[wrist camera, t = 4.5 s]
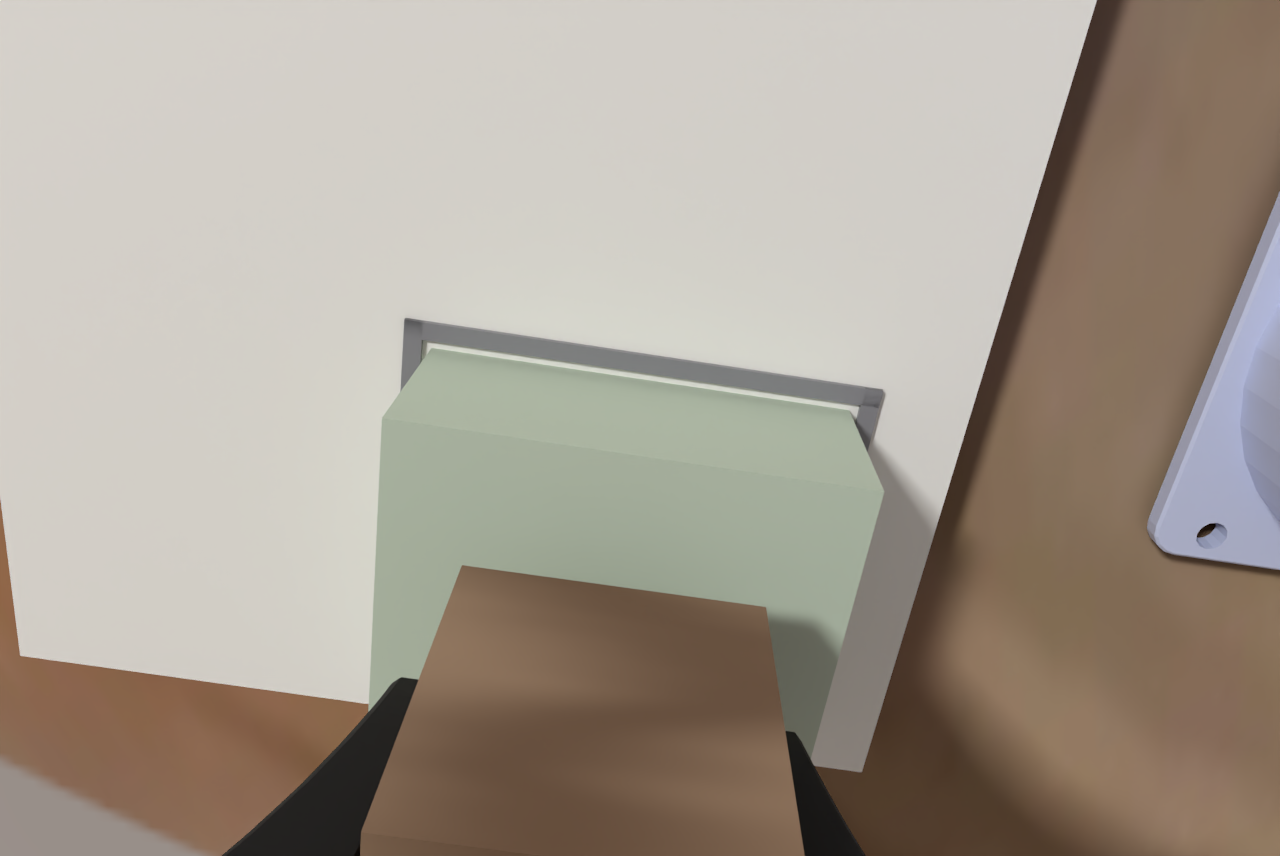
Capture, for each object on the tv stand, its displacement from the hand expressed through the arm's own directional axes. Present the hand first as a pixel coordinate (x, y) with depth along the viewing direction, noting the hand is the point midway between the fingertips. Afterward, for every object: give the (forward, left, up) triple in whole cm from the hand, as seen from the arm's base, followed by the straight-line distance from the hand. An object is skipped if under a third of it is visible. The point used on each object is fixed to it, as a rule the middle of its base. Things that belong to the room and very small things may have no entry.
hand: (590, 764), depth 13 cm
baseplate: (+3, -4, -6) cm, 8 cm away
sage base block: (0, 0, -5) cm, 5 cm away
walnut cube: (0, 0, -1) cm, 1 cm away
